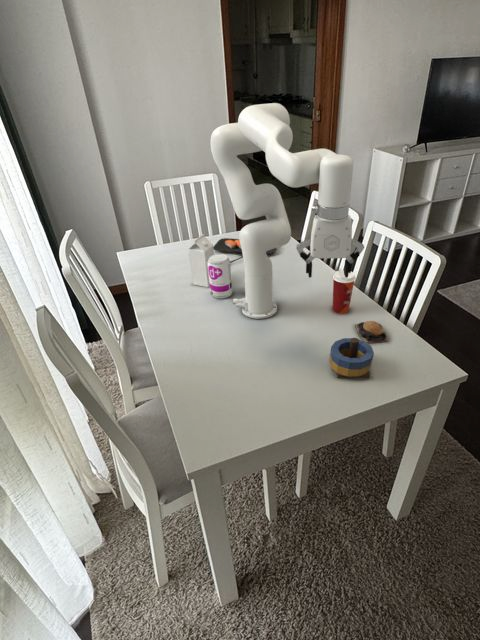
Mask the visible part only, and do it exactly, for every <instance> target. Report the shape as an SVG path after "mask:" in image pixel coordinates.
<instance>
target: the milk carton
mask: <svg viewBox="0 0 480 640" xmlns="http://www.w3.org/2000/svg"><path fill="white" fill-rule="evenodd" d="M213 247H214V244H213V243H212V242H211V241H210V240H209V239H208V238H207V237H206V235H205V233H203V234H201V235H200V236H199V237H197V238H195V239H194V243H193V244H191V246H190V247H189V248H188V249H187V251H188V252H187V253H188V259H189V267H190V273H191V274H190V275H191V281H192V285H193V286H199V287H205V288H210V282H209V273H208V263H207V262H208V260H209V257H210V256H211V255H214V254H215V250H214V249H213Z"/></svg>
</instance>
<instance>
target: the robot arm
mask: <svg viewBox="0 0 480 640" xmlns="http://www.w3.org/2000/svg"><path fill="white" fill-rule="evenodd" d="M290 124H291V119H290V113H289V112H288V110H287V109H286V107H285V106H284V105H282V104H281V103H278V102H272V103H260V104H253V105H249V106H246V107H245V108H244V109H242V110H241V112H240V113H239V116H238V119H237V122H232V123H227V124H222V125H220V126H218V127H216V128H215V129H214V130H213V131H212V133H211V135H210V151H211V155H212V157H213V158H212V159H213V161H214V163H215V165H216V167H217V169H218V171H219V172H220V174H221V176H222V178H223V181H224V184H225V186H226V190H227V192H228V194H229V195H228V196H229V198H230V200H231V205H232V208H233V211H234V212H235V215H236V217H237V218H238V219H239V220H242V221H247V220H253V219H257V218H261V217H264V216H265V218H266V219H262V220H258V221H255V222H250V223H248V224H246V225H245V226H243V227H242V228H241V229H240V231H239V234H238V239H239V240H240V245H241V249H242V253H241V255H242V256H243V258H242V261H243V274H244V276H243V277H244V293H245V296H244V297H242V298H233V300H232V302H233V305H235V306H236V308H241V312H242V314H243V315H245V316H246V317H247V318H250V319H255V320H263V319H268V318H271V317H273V316H274V315H275V314H276V313H277V312H278V306H277V304H276V303H275V302H274V301H273V299H274V298H273V297H274V295H273V293H274V292H273V263H272V259H271V258H270V257H269V256H268V254H266V252H267V251H268V250H271V249H274V248H276V249H278V248H280V247H284V246H285V245H287V244H288V243H289V242H290V241H291V238H292V228H291V225H290V220H289V216H288V214H287V212H286V211H287V210H286V208H285V203H284V201H283V198H282V195H281V193H280V191H279V189H278V188H277V187H276V186H275V185H273V184H272V183H261V184H256V183H255V182H254V179H253V176H252V173H251V170H250V169H249V167H248V166H247V165H246V164H245V162H244V161H242V160H241V159H240V158H239V157H238V156H240V155H247V154H251V153H258V152H262V151H263V152H264V153H265V162H266V165H267V167H268V169H269V172H270V173H271V175H272V176H273V177H275V178H276V179H277V180H278V181H280V182H281V183H282V184H284V185H286V186H287V187H290V188H302V187H305V186H309V185H310V186H311V185H314V184H318V195H317V204H316V205H314V206H311V213H315V215H314V217H313V221H312V226H311V230H310V231H311V232H310V238H307V239H305V240H304V241H302V242H300V243H297V244H296V245H295V249H296V251H297V253H298V254H299V257H300V258H301V259H302V260H303V261H304V262H305V274H307V275H308V278H312V277H313V260H314V259H345V260H344V266H343V270H344V275H345V277H348V273H351V272H352V264H353V263H354V262H355V260H357V259H358V258H359V257H360V255H361V254H362V252H363V251H364V249H365V245H364V244H363V243H362V242H360V241H358V240H356V239H354V238H353V224H352V223H353V221H352V217H351V216H350V214H349V210H350V200H351V192H352V191H351V190H352V181H353V171H354V160H353V158H352V157H351V156H349V155H346V154H338V153H336V152H334V151H333V150H331V149H328V148H315V149H309V150H304V151H299V152H291V151H289V150H290V149H291V146H292V144H293V139H294V135H293V134H294V133H293V131H292V128H291V126H290ZM307 247H309V252H308V253H306V252H305V251H304V249H306V248H307ZM352 247H354V248H356V249H355V250H354V251H353V252H352Z"/></svg>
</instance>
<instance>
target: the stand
mask: <svg viewBox="0 0 480 640" xmlns="http://www.w3.org/2000/svg"><path fill="white" fill-rule="evenodd" d="M350 338H351V340H350V347H349V355H348V356H346V357H349V358H357V353H358V346H359V340H360V339H359V338H357V337H350ZM335 373H336V378H338V379H370V376H371V372H370V370H369V371H368V373H366V374H363V375H361V376H353V377H348V376H344V375H341V374H338V373H337V372H335Z"/></svg>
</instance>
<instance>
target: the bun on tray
mask: <svg viewBox="0 0 480 640" xmlns="http://www.w3.org/2000/svg"><path fill="white" fill-rule="evenodd" d="M355 329H356V331H357V333H358V335H359V336H360V339H361V340H363V341H365V342H366V343H368V344H369V345H370V344H377V343H379V344H380V343H386V342H388V341H389V339H388V338H387V334H386V333H385V332H384V329H383V326H382V324H380V323H379V322H377V321H375V320H367V321H361V322H359V323H356V324H355Z"/></svg>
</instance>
